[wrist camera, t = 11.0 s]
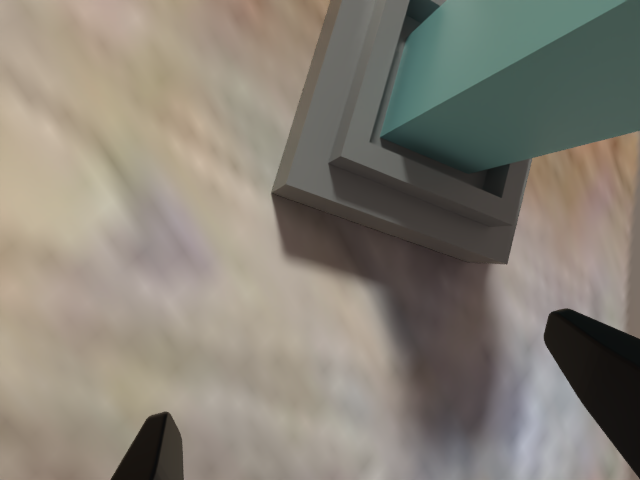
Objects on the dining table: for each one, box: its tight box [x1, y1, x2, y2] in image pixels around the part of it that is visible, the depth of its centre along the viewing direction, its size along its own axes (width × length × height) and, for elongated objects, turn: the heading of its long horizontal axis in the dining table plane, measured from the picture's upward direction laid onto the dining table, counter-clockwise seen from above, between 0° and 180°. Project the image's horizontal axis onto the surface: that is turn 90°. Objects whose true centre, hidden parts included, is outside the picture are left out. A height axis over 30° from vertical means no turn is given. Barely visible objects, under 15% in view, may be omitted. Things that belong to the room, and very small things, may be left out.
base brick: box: [271, 0, 532, 264], centre depth 21 cm, size 12×12×4 cm
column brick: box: [380, 0, 640, 174], centre depth 14 cm, size 5×5×12 cm
